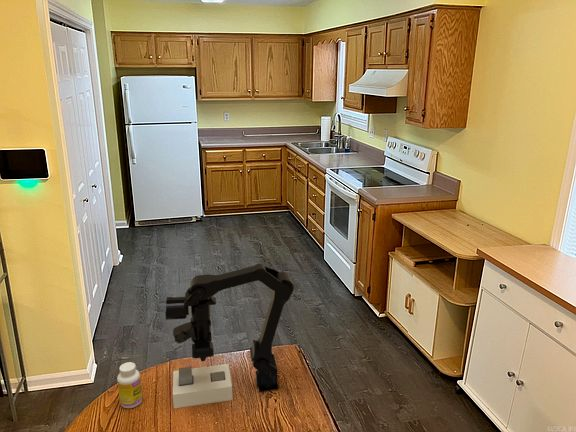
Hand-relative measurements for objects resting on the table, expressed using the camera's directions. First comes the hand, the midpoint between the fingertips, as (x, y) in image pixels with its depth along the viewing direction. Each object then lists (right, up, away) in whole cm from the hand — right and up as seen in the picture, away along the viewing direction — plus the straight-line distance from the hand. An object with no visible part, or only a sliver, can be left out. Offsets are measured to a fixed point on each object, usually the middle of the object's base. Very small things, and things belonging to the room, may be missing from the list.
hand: (202, 360), depth 143 cm
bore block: (-1, -11, +3) cm, 12 cm away
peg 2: (+4, -11, +4) cm, 12 cm away
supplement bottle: (-22, -13, -1) cm, 26 cm away
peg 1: (-5, -8, +1) cm, 10 cm away
